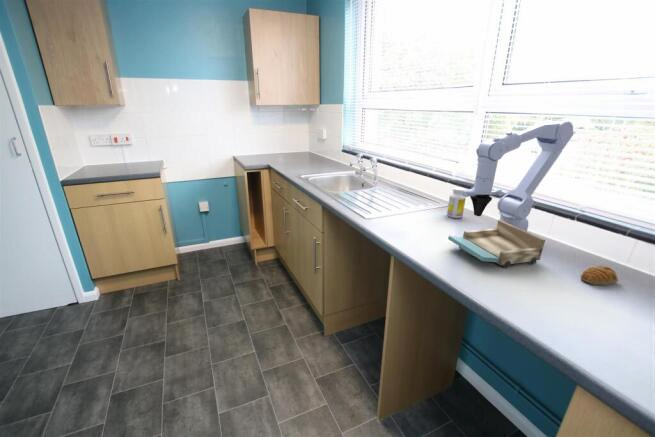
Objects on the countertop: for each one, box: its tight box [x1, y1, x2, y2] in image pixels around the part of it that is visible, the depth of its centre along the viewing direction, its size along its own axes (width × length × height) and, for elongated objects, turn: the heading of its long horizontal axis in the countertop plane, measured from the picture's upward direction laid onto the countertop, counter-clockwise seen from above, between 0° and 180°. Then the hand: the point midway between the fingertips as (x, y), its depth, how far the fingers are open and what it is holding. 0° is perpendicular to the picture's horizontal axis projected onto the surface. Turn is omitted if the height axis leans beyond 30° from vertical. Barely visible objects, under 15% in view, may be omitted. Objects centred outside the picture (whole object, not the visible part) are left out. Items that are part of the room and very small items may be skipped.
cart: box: [462, 219, 546, 269], centre depth 104 cm, size 15×18×8 cm
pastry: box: [580, 265, 619, 286], centre depth 90 cm, size 9×7×4 cm
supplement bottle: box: [446, 186, 467, 219], centre depth 140 cm, size 7×7×13 cm
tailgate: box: [447, 235, 499, 263], centre depth 102 cm, size 2×17×6 cm
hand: (477, 215), depth 111 cm, fingers closed
